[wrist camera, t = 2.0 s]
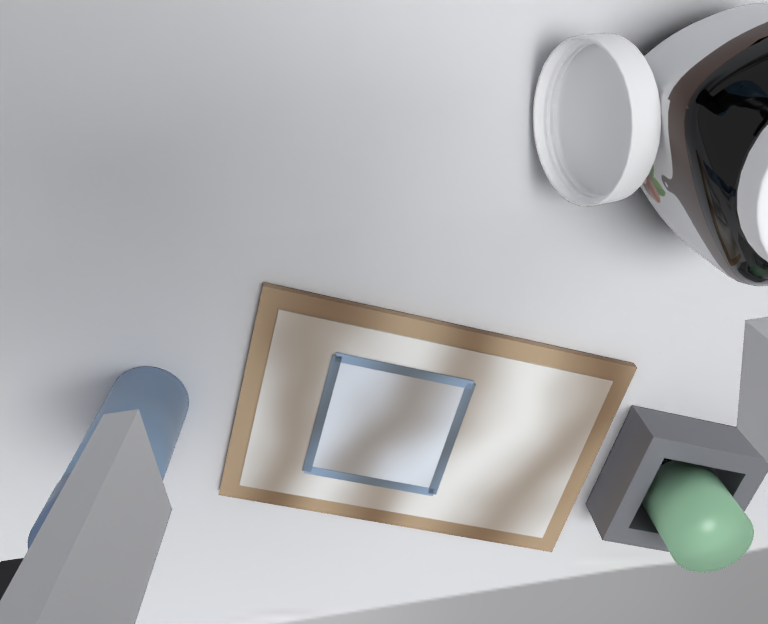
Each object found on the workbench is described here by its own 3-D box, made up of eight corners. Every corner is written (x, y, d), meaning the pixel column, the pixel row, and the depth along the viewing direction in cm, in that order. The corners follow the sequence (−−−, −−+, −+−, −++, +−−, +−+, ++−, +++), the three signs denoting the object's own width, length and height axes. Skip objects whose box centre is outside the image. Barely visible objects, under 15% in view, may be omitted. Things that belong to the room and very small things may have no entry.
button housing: (586, 504, 43) (602, 539, 40) (632, 405, 40) (653, 436, 37) (692, 523, 44) (715, 560, 41) (745, 429, 41) (773, 461, 38)
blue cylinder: (106, 424, 39) (24, 580, 29) (114, 358, 37) (31, 499, 27) (183, 438, 39) (130, 595, 29) (195, 374, 38) (142, 518, 28)
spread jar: (806, 175, 35) (1008, 262, 24) (590, 283, 37) (690, 407, 26) (735, -72, 30) (947, -98, 20) (491, 66, 32) (565, 110, 21)
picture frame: (220, 489, 41) (217, 497, 40) (263, 282, 36) (262, 287, 35) (549, 546, 44) (552, 554, 43) (633, 363, 39) (638, 369, 38)
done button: (628, 512, 40) (657, 565, 37) (659, 452, 39) (692, 501, 35) (696, 524, 41) (730, 577, 37) (729, 465, 39) (768, 515, 36)
